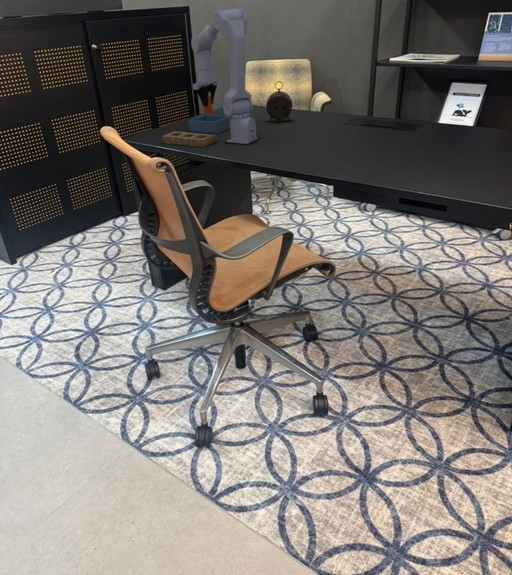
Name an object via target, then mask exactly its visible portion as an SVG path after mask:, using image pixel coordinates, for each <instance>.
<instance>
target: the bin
mask: <svg viewBox="0 0 512 575" xmlns="http://www.w3.org/2000/svg"><path fill="white" fill-rule="evenodd" d="M188 127H189V133H200V134H211V135H218V134H220V133H222V132H225V131H227V130H230V122H229V118H228V117H227V116H226V115H221V114H210V115H206V114H205V113H204V114H201V115H199V116H197V117H194V118H191V119H189V120H188Z"/></svg>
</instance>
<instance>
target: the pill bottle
mask: <svg viewBox="0 0 512 575" xmlns="http://www.w3.org/2000/svg"><path fill="white" fill-rule="evenodd" d="M203 110H204V111H203V112H204V114H206V115H214V113H213V104H212V102H211V92H210V91H209V92H208V106H203Z"/></svg>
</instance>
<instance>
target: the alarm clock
mask: <svg viewBox="0 0 512 575" xmlns="http://www.w3.org/2000/svg"><path fill="white" fill-rule="evenodd" d="M278 83H280V84H281V87H280V88H277V87H276V85H277V84H278ZM283 87H284V84H283V82H282V81H275V83H274V89H276V90H277V91H274V92H273V93H271V94H270V95H269V96H268V98H267V100H266V105H265V110H266V113H267V114H268V115H269V117H270V119H269V120H268V121H269V122H271V120H277V121H278V122H277V123H281V120H284V119H287V120H288V121H289V122H290V121H291V119H290V117H289V116H290V115H291V113H292V111H293V100H292V98H291V96H290V95H289V93H287V92H285V91H281V90H282V89H283Z"/></svg>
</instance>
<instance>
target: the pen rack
mask: <svg viewBox="0 0 512 575" xmlns="http://www.w3.org/2000/svg"><path fill="white" fill-rule="evenodd" d="M216 135H217V134H212V133H200V132H188V131H187V132H186V131H176V130H175V131H174V130H173V131H171V132H168V133H166V134H164V135H161V140H162V143H163V144H169V145H170V144H171V145H179V146H188V147H189V146H190V147H200V148H206V147H207V146H210V145H212V144H214V143H216V142H217V136H216Z"/></svg>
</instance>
